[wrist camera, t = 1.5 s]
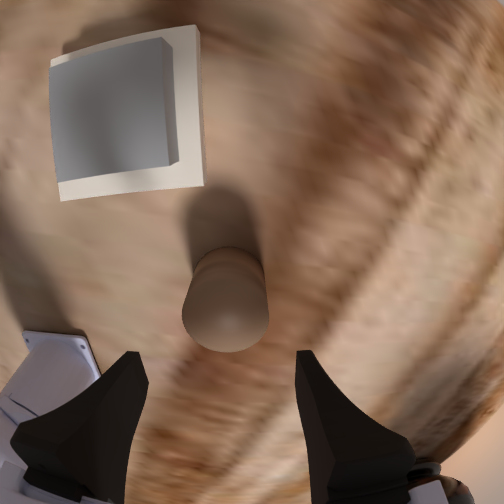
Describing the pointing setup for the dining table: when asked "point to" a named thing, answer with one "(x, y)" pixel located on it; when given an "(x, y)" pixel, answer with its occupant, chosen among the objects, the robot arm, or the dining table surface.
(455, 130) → the dining table surface
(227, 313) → the walnut cylinder
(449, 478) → the amphora vase
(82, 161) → the top block
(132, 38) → the base block
